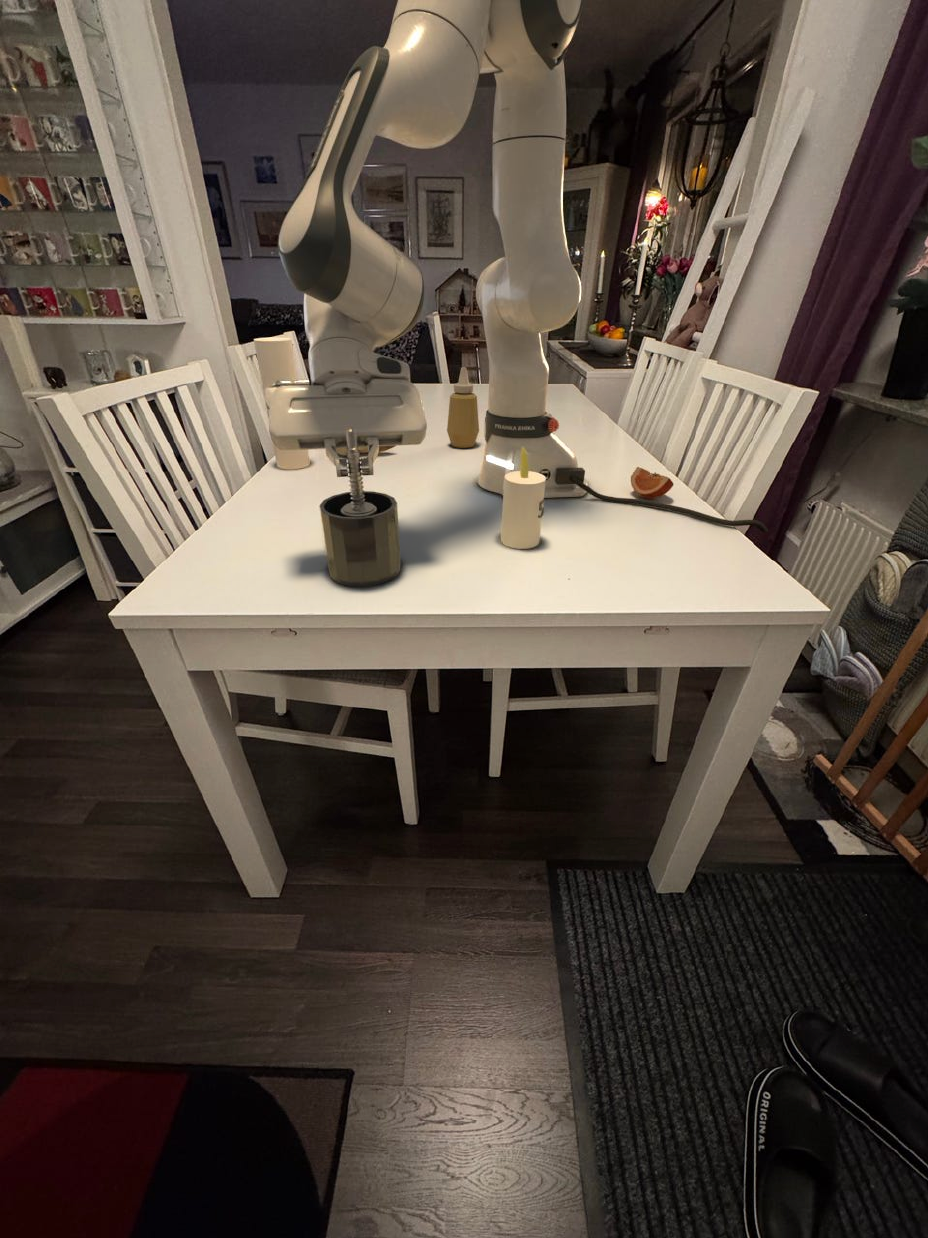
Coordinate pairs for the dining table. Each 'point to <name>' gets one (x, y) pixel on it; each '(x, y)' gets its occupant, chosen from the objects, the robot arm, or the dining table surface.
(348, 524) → the holder
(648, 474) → the fruit slice
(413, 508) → the dining table surface
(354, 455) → the screw
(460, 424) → the squeeze bottle
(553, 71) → the robot arm
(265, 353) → the cylindrical container
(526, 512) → the candle
